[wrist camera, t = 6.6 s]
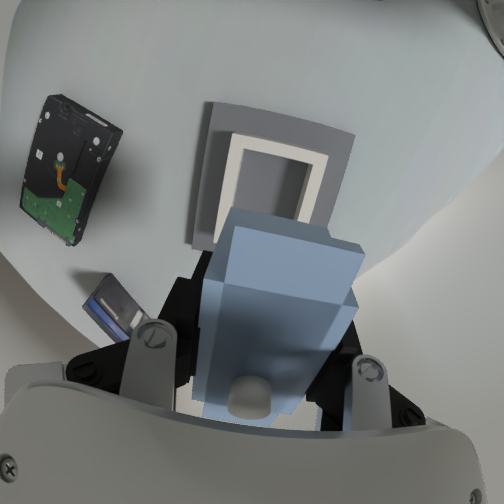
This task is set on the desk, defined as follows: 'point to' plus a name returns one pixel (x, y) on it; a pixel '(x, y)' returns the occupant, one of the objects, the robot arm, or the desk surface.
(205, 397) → the servo block
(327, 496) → the robot arm
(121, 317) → the mini dv tape
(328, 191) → the plate
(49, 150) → the disk drive
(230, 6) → the desk surface
